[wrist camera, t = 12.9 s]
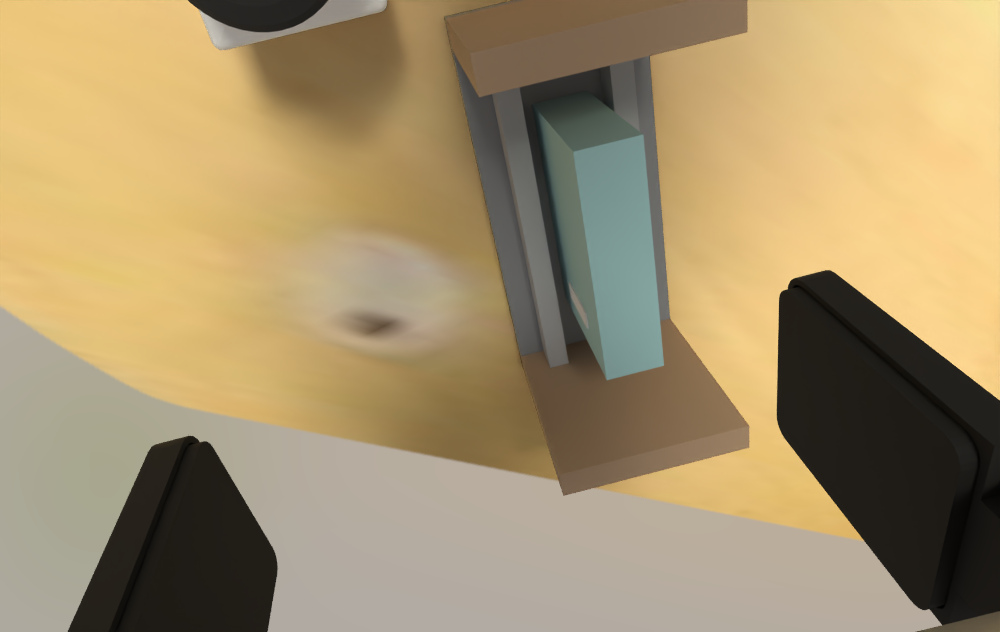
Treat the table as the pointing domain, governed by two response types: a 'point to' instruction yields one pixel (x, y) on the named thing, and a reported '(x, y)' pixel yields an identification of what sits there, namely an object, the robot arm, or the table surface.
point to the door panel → (602, 229)
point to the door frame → (530, 233)
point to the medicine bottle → (275, 17)
